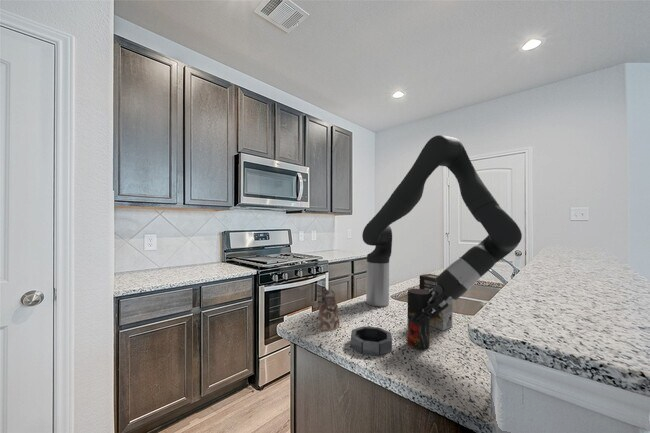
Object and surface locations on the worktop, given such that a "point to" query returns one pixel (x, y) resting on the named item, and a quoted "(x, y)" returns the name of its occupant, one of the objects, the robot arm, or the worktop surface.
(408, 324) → the deodorant
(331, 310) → the figurine
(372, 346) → the collar ring
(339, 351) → the worktop surface
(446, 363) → the worktop surface
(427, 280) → the coffee box
